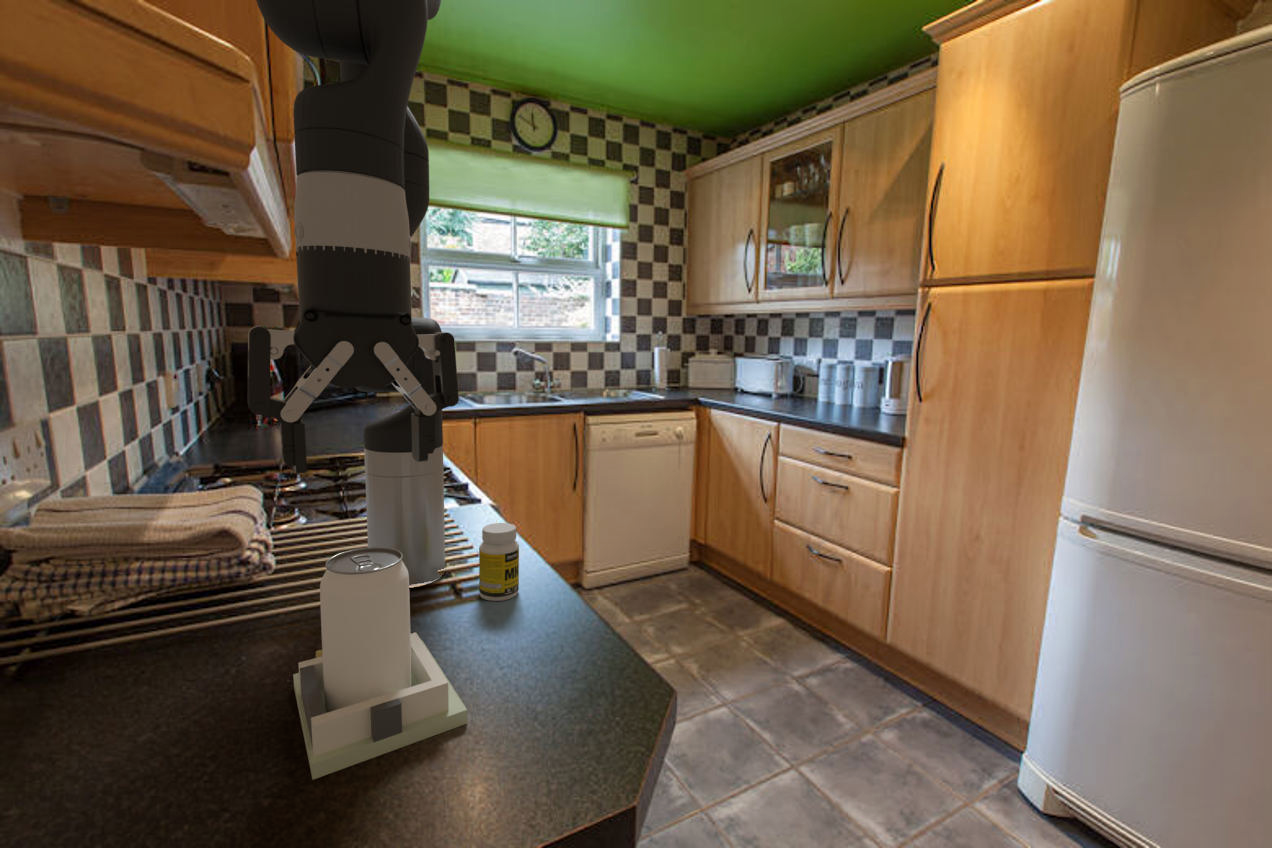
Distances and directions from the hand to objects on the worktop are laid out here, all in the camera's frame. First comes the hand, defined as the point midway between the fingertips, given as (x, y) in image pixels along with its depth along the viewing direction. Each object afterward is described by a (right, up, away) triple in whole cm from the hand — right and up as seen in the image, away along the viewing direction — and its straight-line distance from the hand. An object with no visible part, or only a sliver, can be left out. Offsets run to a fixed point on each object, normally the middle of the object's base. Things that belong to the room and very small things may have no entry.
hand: (363, 465), depth 44 cm
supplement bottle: (+4, -18, +26) cm, 32 cm away
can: (-1, -20, +3) cm, 20 cm away
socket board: (-1, -21, +4) cm, 21 cm away
